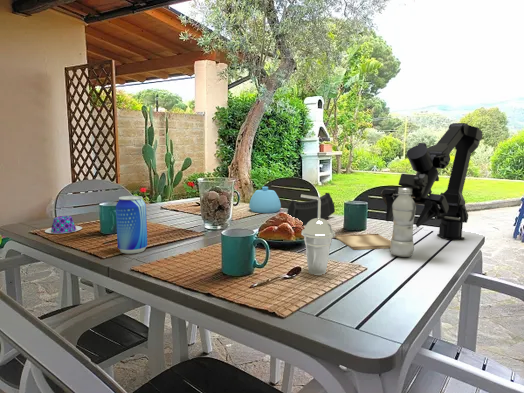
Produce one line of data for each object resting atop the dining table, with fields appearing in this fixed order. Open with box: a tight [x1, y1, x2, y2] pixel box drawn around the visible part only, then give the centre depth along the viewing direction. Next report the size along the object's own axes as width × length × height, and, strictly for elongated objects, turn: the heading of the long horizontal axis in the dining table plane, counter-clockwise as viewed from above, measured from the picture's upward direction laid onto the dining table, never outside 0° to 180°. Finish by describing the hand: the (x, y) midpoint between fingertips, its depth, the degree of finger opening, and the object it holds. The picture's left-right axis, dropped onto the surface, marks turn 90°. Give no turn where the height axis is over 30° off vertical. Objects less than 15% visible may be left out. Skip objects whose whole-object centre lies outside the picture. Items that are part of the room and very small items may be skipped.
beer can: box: [115, 195, 148, 255], centre depth 112 cm, size 8×8×16 cm
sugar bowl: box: [248, 186, 282, 214], centre depth 179 cm, size 15×15×12 cm
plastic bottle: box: [389, 186, 417, 258], centre depth 108 cm, size 6×7×20 cm
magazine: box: [286, 192, 336, 226], centre depth 154 cm, size 17×3×30 cm
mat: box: [334, 233, 391, 251], centre depth 125 cm, size 16×16×1 cm
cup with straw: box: [299, 194, 337, 276], centre depth 94 cm, size 8×9×20 cm
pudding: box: [44, 215, 83, 235], centre depth 136 cm, size 12×12×5 cm
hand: (401, 223), depth 108 cm, fingers open, 9 cm apart
